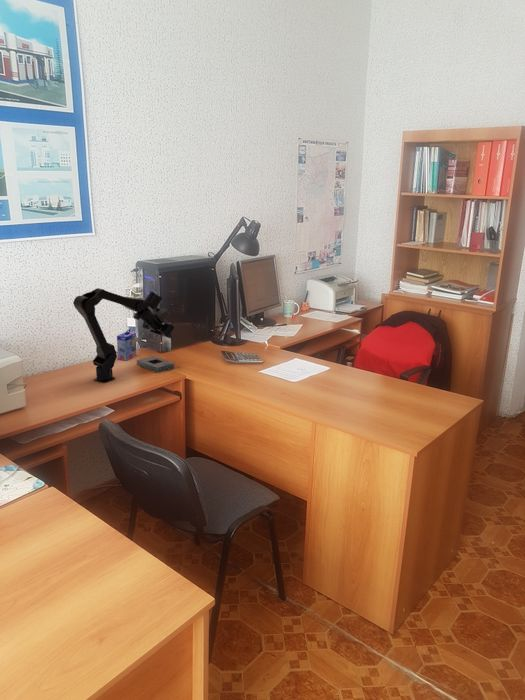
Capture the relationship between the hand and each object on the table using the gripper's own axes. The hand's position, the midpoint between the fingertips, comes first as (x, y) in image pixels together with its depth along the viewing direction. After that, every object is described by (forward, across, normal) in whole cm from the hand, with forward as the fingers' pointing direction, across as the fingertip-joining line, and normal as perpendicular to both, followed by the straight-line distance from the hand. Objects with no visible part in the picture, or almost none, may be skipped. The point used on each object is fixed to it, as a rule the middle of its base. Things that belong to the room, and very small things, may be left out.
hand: (168, 336), depth 266 cm
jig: (+4, 0, +15) cm, 16 cm away
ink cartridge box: (+3, +21, +16) cm, 27 cm away
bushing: (+4, 0, +6) cm, 7 cm away
